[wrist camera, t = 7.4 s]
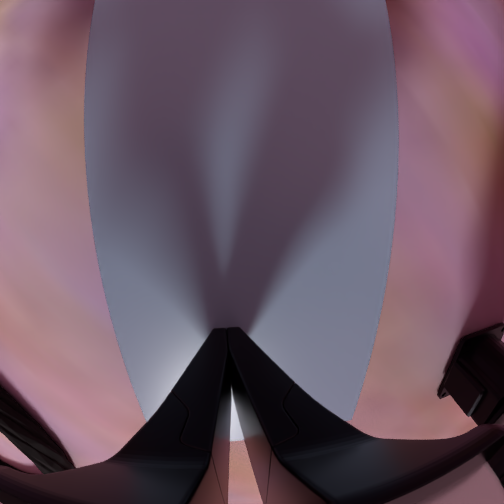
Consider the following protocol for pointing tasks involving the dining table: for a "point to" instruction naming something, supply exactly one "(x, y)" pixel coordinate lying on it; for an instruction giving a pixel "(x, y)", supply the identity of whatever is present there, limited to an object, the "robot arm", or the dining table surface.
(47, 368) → the dining table surface
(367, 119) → the cover
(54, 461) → the cable lock
